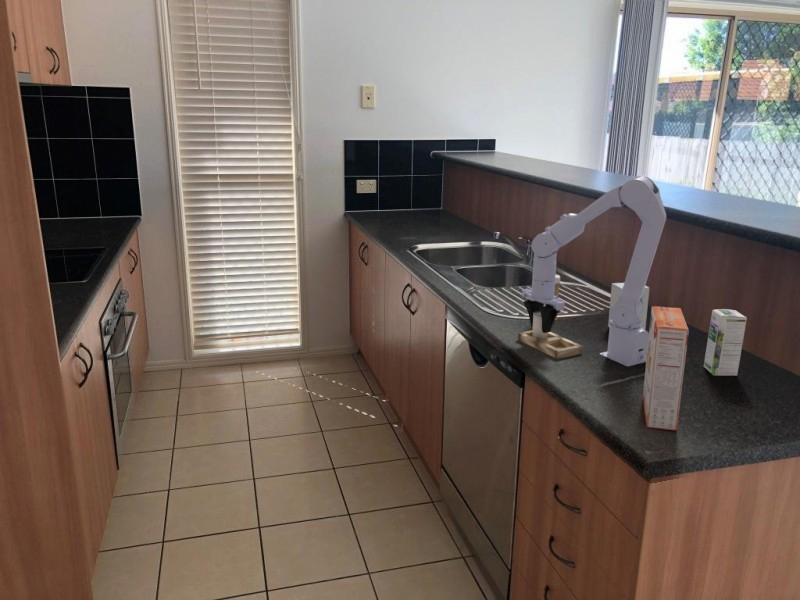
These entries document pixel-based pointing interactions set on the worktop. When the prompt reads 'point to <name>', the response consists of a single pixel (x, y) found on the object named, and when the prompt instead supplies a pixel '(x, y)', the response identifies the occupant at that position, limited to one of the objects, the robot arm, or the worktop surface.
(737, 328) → the syrup box
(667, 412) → the cracker box
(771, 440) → the worktop surface
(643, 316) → the small box
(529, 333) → the caddy
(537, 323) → the salt shaker
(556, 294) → the sprinkles bottle
